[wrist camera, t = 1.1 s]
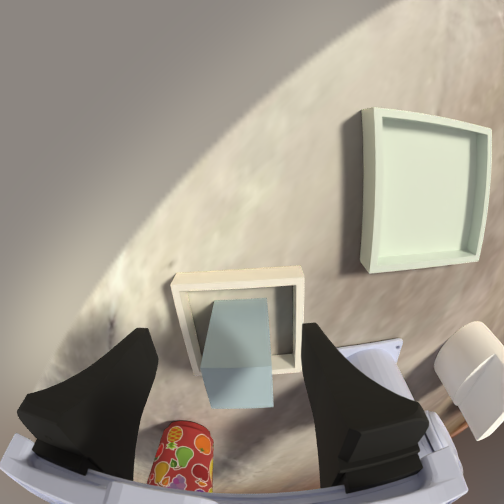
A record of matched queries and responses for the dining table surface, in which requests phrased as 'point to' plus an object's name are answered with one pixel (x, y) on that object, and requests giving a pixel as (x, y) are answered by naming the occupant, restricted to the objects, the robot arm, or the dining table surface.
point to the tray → (422, 190)
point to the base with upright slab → (474, 376)
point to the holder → (238, 281)
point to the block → (238, 355)
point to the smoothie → (184, 458)
